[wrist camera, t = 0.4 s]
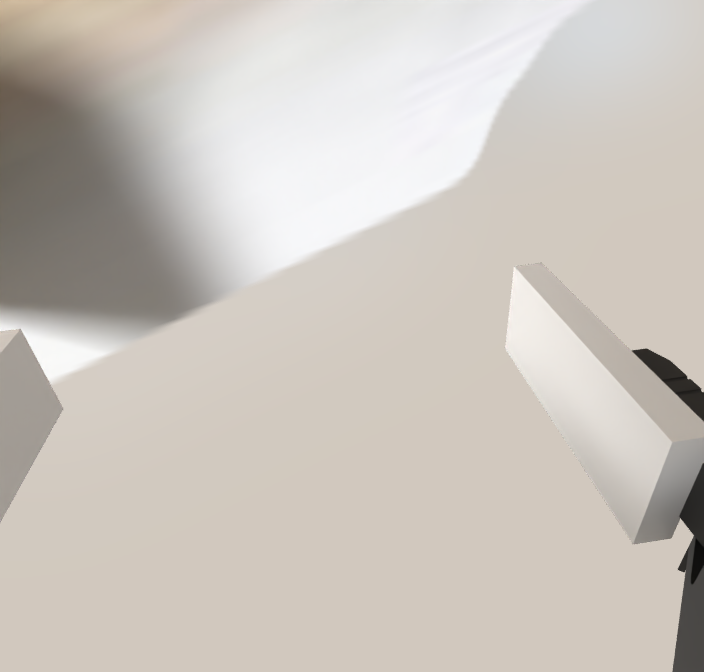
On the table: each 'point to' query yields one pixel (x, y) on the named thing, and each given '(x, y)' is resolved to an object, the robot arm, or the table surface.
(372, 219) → the table surface
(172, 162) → the table surface
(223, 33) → the table surface
